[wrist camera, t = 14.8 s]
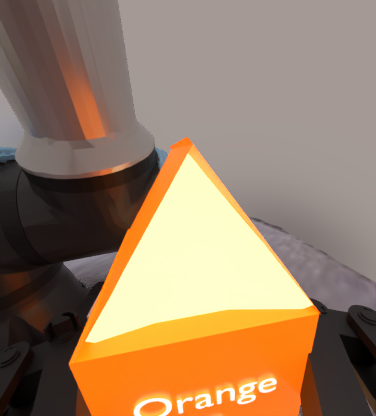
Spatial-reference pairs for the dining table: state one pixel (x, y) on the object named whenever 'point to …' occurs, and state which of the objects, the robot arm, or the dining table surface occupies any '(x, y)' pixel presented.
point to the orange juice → (195, 310)
